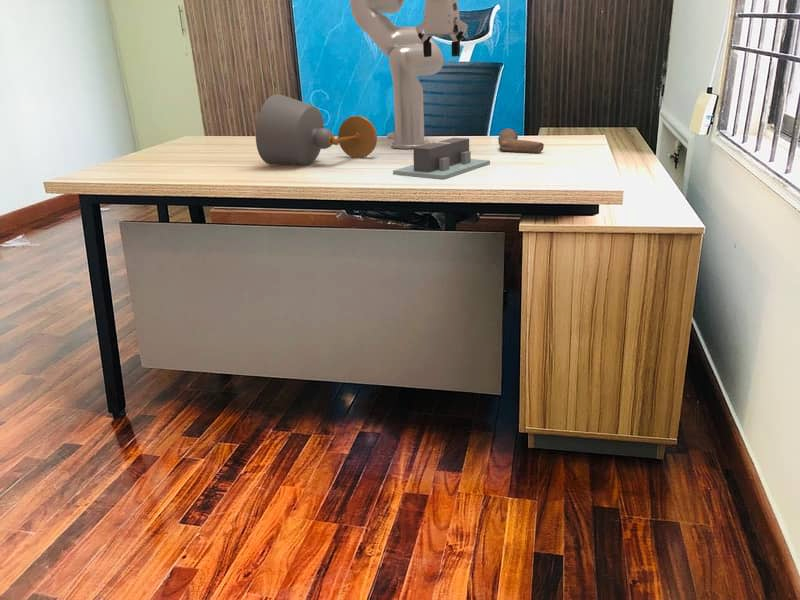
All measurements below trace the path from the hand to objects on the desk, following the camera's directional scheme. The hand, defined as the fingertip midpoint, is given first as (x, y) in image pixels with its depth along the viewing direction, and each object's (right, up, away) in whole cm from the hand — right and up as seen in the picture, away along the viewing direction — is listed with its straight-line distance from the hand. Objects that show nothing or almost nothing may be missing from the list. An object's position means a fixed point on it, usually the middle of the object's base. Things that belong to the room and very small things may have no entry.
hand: (441, 56), depth 205 cm
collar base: (-1, -36, -14) cm, 38 cm away
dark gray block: (-1, -35, -15) cm, 38 cm away
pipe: (+25, -26, +11) cm, 37 cm away
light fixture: (-36, -31, +2) cm, 48 cm away
